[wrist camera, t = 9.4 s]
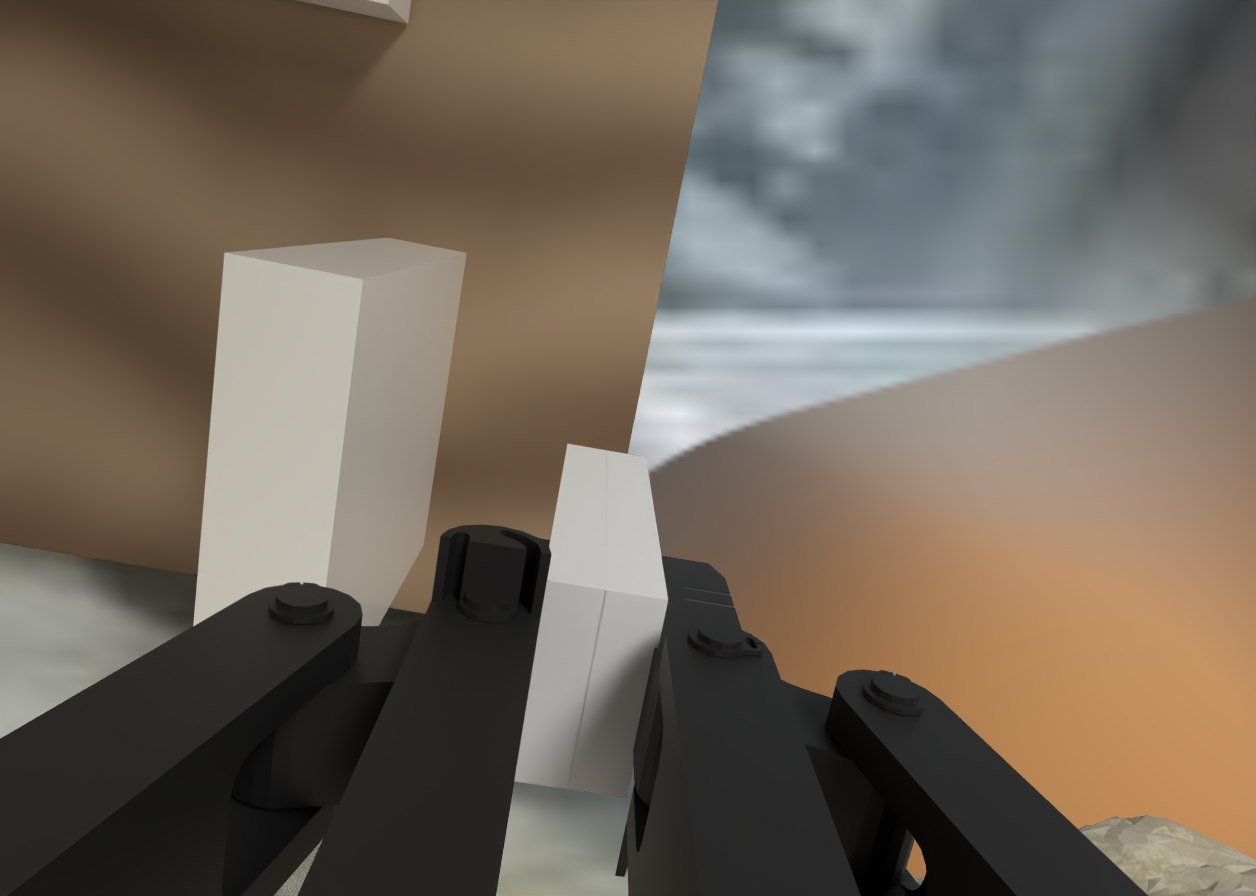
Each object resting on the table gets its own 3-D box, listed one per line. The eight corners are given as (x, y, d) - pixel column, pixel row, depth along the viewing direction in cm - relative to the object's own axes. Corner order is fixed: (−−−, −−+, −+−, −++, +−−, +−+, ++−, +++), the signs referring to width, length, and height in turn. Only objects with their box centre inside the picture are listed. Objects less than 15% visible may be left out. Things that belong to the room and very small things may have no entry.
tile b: (382, 236, 23) (213, 250, 13) (466, 252, 23) (363, 278, 13) (344, 531, 25) (175, 736, 15) (423, 545, 25) (305, 756, 15)
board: (-18, -617, 19) (-58, -671, 18) (797, -413, 21) (808, -450, 19) (-36, 516, 26) (-67, 531, 24) (590, 622, 27) (589, 641, 26)
